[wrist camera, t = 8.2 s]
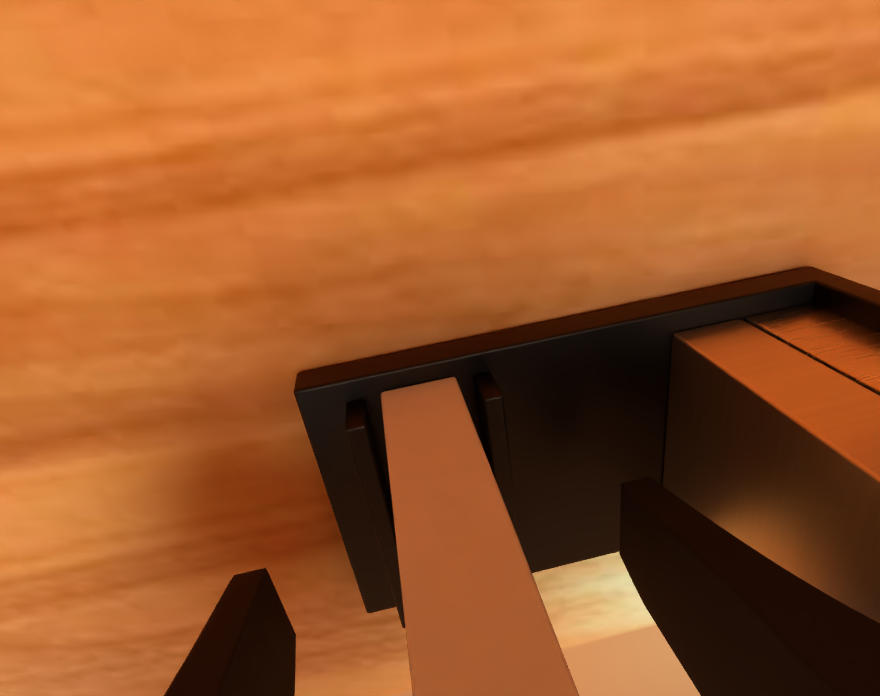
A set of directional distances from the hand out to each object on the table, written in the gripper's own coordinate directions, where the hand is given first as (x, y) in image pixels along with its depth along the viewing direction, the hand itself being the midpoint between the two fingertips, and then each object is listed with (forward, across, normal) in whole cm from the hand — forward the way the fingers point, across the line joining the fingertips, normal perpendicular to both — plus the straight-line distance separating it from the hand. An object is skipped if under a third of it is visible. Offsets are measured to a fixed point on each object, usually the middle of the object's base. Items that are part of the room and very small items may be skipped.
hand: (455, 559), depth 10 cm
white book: (+2, 0, 0) cm, 2 cm away
